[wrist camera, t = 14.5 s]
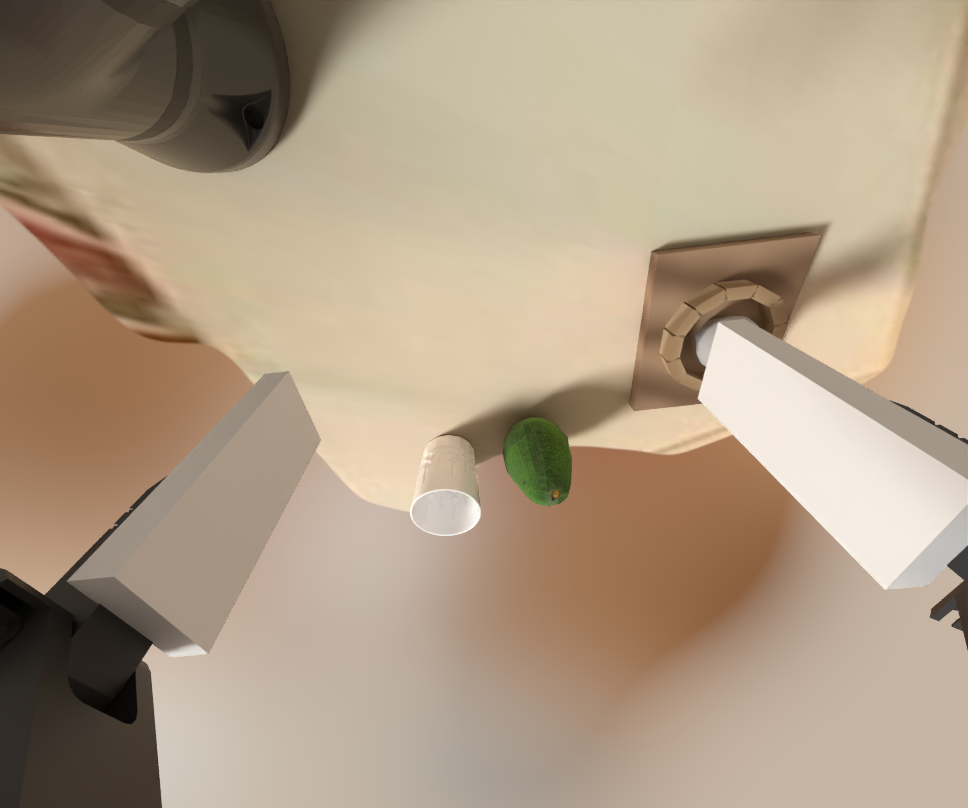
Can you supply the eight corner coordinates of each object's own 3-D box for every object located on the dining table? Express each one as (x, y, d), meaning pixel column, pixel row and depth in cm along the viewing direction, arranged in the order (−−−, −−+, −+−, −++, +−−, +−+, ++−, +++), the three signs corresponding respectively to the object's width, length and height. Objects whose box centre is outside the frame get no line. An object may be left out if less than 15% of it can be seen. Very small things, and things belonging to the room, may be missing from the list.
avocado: (560, 447, 49) (584, 521, 39) (502, 453, 49) (511, 528, 39) (561, 398, 44) (588, 467, 34) (497, 405, 44) (506, 475, 34)
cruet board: (651, 251, 35) (668, 259, 32) (808, 232, 35) (840, 239, 32) (629, 404, 45) (640, 420, 42) (750, 390, 45) (770, 406, 42)
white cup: (463, 481, 51) (463, 542, 43) (411, 464, 49) (400, 525, 41) (488, 442, 48) (493, 501, 39) (433, 422, 45) (425, 480, 37)
